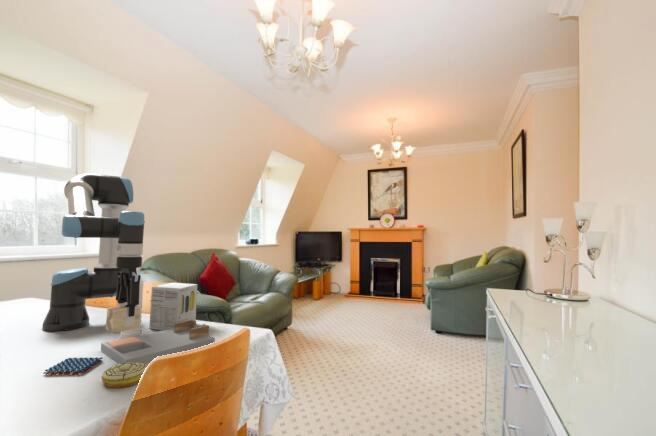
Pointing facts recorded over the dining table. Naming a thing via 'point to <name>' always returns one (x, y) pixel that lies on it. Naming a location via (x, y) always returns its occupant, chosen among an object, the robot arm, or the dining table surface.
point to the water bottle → (137, 331)
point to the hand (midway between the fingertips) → (125, 323)
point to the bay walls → (192, 329)
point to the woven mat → (73, 366)
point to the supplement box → (172, 305)
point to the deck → (152, 346)
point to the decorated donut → (123, 374)
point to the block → (120, 319)
